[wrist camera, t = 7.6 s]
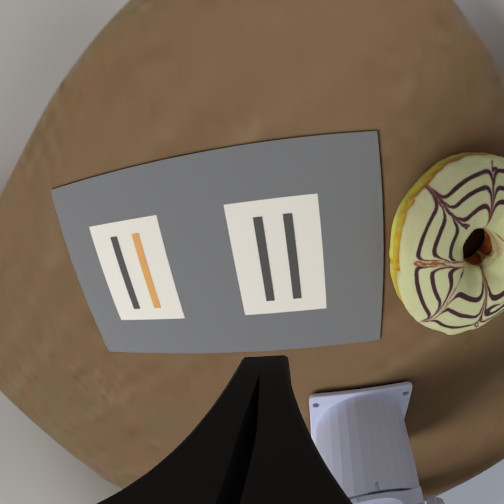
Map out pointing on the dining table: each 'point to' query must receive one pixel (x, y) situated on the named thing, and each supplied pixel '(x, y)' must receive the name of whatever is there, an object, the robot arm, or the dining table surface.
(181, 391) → the dining table surface
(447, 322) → the decorated donut
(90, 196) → the label mat
